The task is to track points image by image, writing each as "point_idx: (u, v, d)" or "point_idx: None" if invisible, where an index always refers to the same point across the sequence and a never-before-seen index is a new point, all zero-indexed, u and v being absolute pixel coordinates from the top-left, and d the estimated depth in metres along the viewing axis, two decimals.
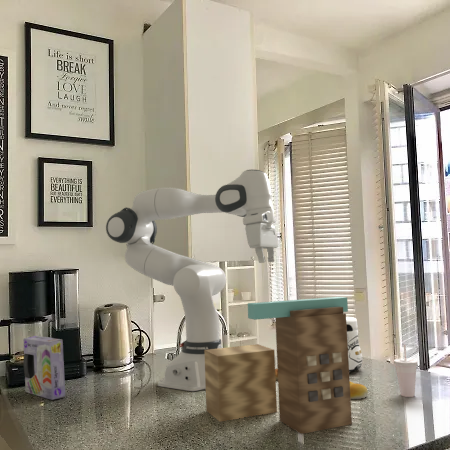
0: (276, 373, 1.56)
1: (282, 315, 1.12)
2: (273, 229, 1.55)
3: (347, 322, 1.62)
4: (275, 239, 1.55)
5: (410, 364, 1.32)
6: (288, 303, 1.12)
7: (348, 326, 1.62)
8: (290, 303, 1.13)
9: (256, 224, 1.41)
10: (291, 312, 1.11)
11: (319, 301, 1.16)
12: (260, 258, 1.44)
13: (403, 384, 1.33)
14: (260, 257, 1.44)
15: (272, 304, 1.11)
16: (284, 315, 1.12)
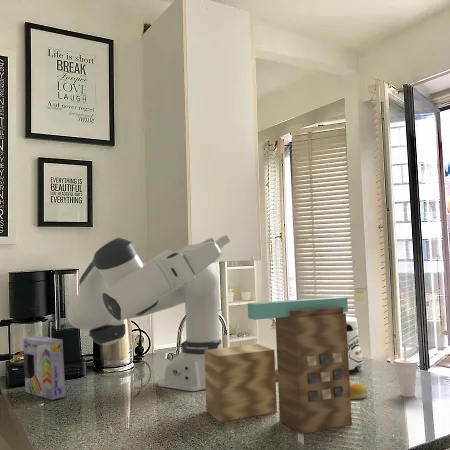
0: (277, 373, 1.56)
1: (282, 315, 1.12)
2: None
3: (347, 322, 1.62)
4: (182, 249, 1.16)
5: (410, 364, 1.32)
6: (288, 303, 1.12)
7: (348, 326, 1.62)
8: (290, 303, 1.13)
9: (189, 258, 1.00)
10: (291, 312, 1.11)
11: (319, 301, 1.16)
12: (224, 241, 1.07)
13: (403, 384, 1.33)
14: (223, 241, 1.07)
15: (272, 304, 1.11)
16: (284, 315, 1.12)
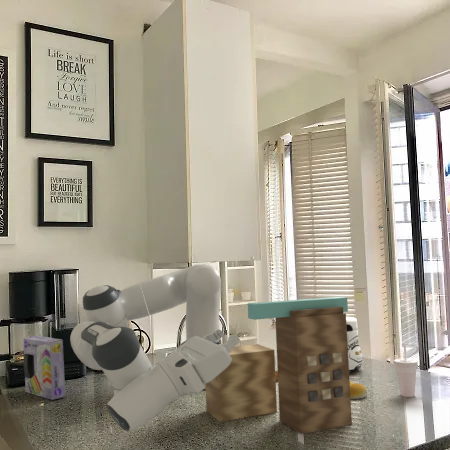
0: None
1: (282, 315, 1.12)
2: (179, 351, 1.09)
3: (347, 322, 1.62)
4: (190, 342, 1.11)
5: (410, 364, 1.32)
6: (288, 303, 1.12)
7: (348, 326, 1.62)
8: (290, 303, 1.13)
9: (198, 368, 0.95)
10: (291, 312, 1.11)
11: (319, 301, 1.16)
12: (234, 341, 1.02)
13: (403, 384, 1.33)
14: (233, 342, 1.02)
15: (272, 304, 1.11)
16: (284, 315, 1.12)
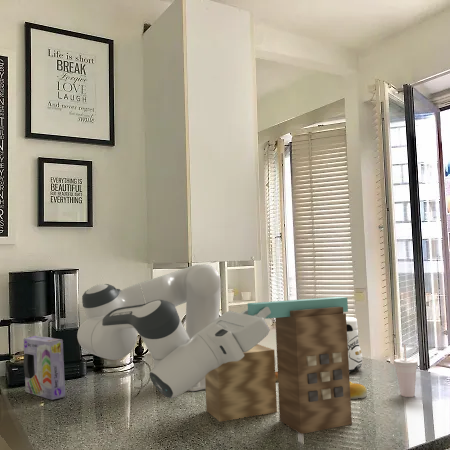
0: None
1: (282, 315, 1.12)
2: None
3: (347, 322, 1.62)
4: (224, 316, 1.15)
5: (410, 364, 1.32)
6: (288, 303, 1.13)
7: (348, 326, 1.62)
8: (290, 303, 1.13)
9: (238, 337, 0.99)
10: (291, 312, 1.11)
11: (319, 301, 1.16)
12: (265, 313, 1.08)
13: (403, 384, 1.33)
14: (264, 313, 1.08)
15: (272, 304, 1.11)
16: (284, 315, 1.12)
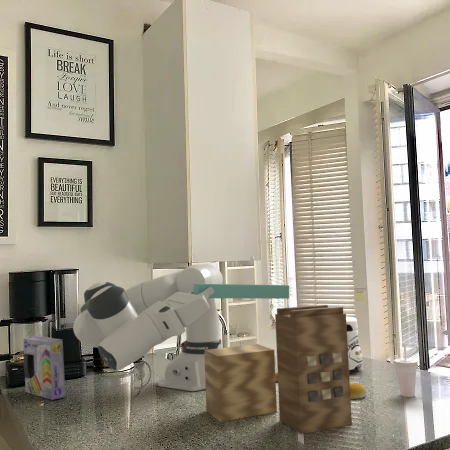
0: None
1: (225, 296, 1.20)
2: (163, 304, 1.21)
3: (347, 322, 1.62)
4: (173, 296, 1.23)
5: (410, 364, 1.32)
6: (232, 286, 1.21)
7: (348, 326, 1.62)
8: (233, 286, 1.21)
9: (180, 313, 1.07)
10: (291, 312, 1.11)
11: (262, 286, 1.24)
12: (209, 292, 1.16)
13: (403, 384, 1.33)
14: (208, 293, 1.16)
15: (216, 285, 1.19)
16: (227, 296, 1.20)
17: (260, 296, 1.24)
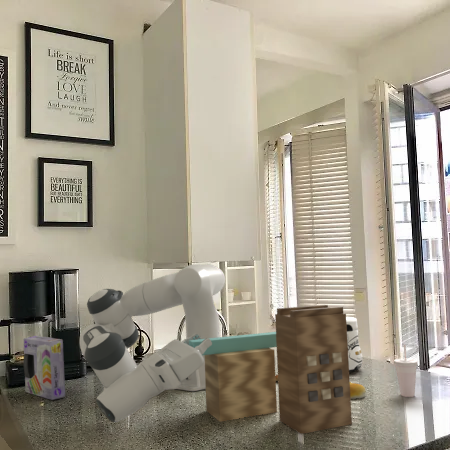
0: None
1: (220, 351, 1.22)
2: (160, 352, 1.25)
3: (347, 322, 1.62)
4: (170, 345, 1.26)
5: (410, 364, 1.32)
6: (226, 340, 1.23)
7: (348, 326, 1.62)
8: (228, 340, 1.23)
9: (175, 367, 1.10)
10: (291, 312, 1.11)
11: (256, 337, 1.26)
12: (207, 344, 1.18)
13: (403, 384, 1.33)
14: (206, 345, 1.17)
15: (211, 341, 1.22)
16: (222, 351, 1.23)
17: (255, 347, 1.26)
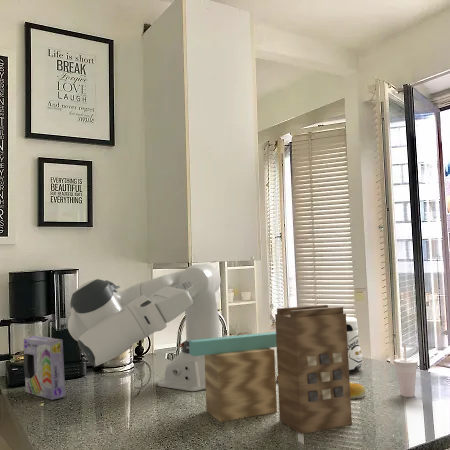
0: None
1: (220, 351, 1.22)
2: None
3: (347, 322, 1.62)
4: (160, 291, 1.19)
5: (410, 364, 1.32)
6: (226, 340, 1.23)
7: (348, 326, 1.62)
8: (228, 340, 1.23)
9: (161, 307, 1.03)
10: (291, 312, 1.11)
11: (256, 337, 1.26)
12: (197, 287, 1.09)
13: (403, 384, 1.33)
14: (196, 288, 1.09)
15: (211, 341, 1.22)
16: (222, 351, 1.23)
17: (255, 347, 1.26)
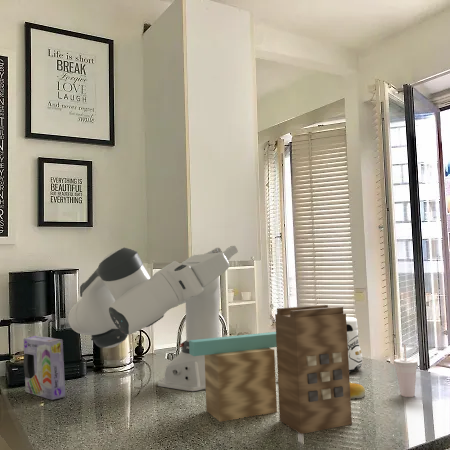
0: None
1: (220, 351, 1.22)
2: None
3: (347, 322, 1.62)
4: (189, 259, 1.14)
5: (410, 364, 1.32)
6: (226, 340, 1.23)
7: (348, 326, 1.62)
8: (228, 340, 1.23)
9: (197, 271, 0.98)
10: (291, 312, 1.11)
11: (256, 337, 1.26)
12: (232, 251, 1.05)
13: (403, 384, 1.33)
14: (231, 252, 1.05)
15: (211, 341, 1.22)
16: (222, 351, 1.23)
17: (255, 347, 1.26)
